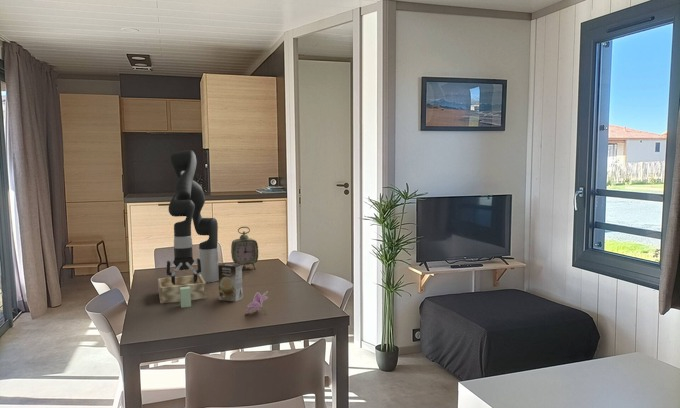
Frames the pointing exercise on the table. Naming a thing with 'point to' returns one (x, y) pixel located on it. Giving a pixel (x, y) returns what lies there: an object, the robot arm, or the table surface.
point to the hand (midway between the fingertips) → (184, 283)
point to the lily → (257, 301)
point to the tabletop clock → (244, 250)
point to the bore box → (172, 292)
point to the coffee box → (230, 281)
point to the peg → (185, 297)
